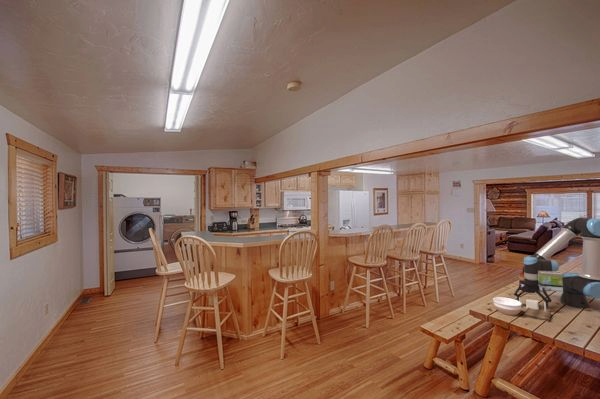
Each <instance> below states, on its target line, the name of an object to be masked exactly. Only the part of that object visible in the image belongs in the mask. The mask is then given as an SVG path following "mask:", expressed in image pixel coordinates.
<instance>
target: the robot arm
mask: <svg viewBox="0 0 600 399" xmlns="http://www.w3.org/2000/svg"><path fill="white" fill-rule="evenodd" d="M579 235H580V238H581V239H582V256H581V271H580V272H579V273H578V272H563V273H562V283H563V292H562V293H561V296H560V298H559V302H560V303H561V304H563V305H565V306H568V307H569V306H570V307H574V308H577V309H578V308H580V309H589V308H590V307H591V304H590V302H589V300H588V298H592V299H597V300H598V299H599V300H600V218H596V217H594V218H593V217H576V218H574V219H572V220H570V221H569V222H567V223H566V224H565V225H563V226H562V227H561V229H560V231H559V232H558V233H557V234H556V235H554V236H553V237H552V238H551V239H550V240H549V241H547V242H546V244H544V245H543V246H542V247H541V248H540V249H538V250H537V251H536V252H535V253H534V254H533V255H527V256H524V258H523V267H524V277H525V284H524V285H523V284H521V283H520V284H519V283H518V287H517V289H516V290H515V292H514V294H513V296H515V297H516V300H517V301H520V302H521V303H522V297H521V296H522V295H524V294H525V293H527V292H526V291H529V292H534V293H533V294H535V292H536V294H537V295H538V296H539V297H540V298H541V299H542V300H543V301H544V302H543V307H544V309H543V311H547V308H548V307H549V303H552V299H551V297H550V295H549V294H548V292H547V290H545V288H544V287H539V284H538V271H552V272H559V270H560V266H559V263H558V262H557V261H556V260H552V259H550V258H551V257H552V256H553V255H554V254H556V253H557V252H558V251H559V250H560V249H561V248H562V247H564V246H565V245H566V244H567V243H569V241H571V240H572V239H573V238H576V237H579ZM548 259H550V260H548ZM523 286H524V287H525V288H526V289H525V290H523V291H520V288H521V287H523ZM539 290H540V291H539ZM541 291H542V293H543V294H542V293H541Z"/></svg>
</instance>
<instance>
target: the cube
mask: <svg viewBox="0 0 600 399" xmlns="http://www.w3.org/2000/svg"><path fill="white" fill-rule="evenodd" d="M539 302H540V301H539V300H537V299H536V300H535V299H531V298H527V299H526V300H525V303H526V304H525V305H526V310H527V308H533V309H538V310H540V308H539V306H540V305H539Z"/></svg>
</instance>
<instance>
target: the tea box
mask: <svg viewBox="0 0 600 399" xmlns="http://www.w3.org/2000/svg"><path fill="white" fill-rule="evenodd" d="M562 274H563V273H562V272H559V271H538V284H539V287H544V288H545V291H553V292H554V291H555V292H562V293H563V283H562Z"/></svg>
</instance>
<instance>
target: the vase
mask: <svg viewBox="0 0 600 399" xmlns="http://www.w3.org/2000/svg"><path fill="white" fill-rule="evenodd" d="M518 280H519V281H518V285H519V284H520V283H521V284H523V285H524V284H525V277H524V266H522V271H520V272H519V273H518ZM525 289H526V288H525V287H524V286H523V287H521V288H520V290H522V291H523V290H525ZM520 290H519V291H520ZM522 291H521V292H522ZM527 292H528V294H535V293H534V292H529V291H526V292H525V293H527Z"/></svg>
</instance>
